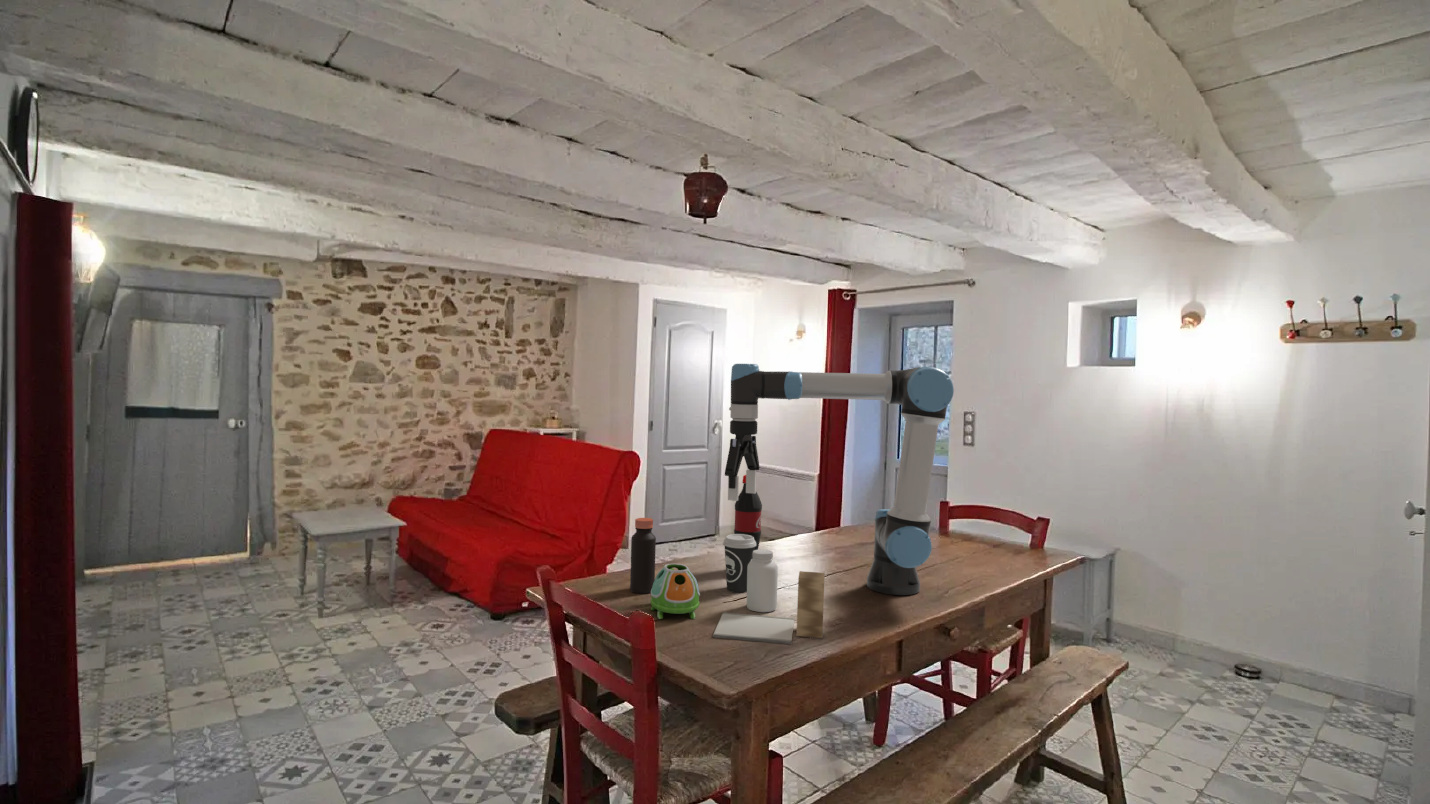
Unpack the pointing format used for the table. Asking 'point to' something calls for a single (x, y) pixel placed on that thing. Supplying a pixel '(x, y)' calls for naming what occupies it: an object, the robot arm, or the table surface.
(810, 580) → the oak block
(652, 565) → the vinegar
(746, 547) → the coffee cup
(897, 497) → the robot arm
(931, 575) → the table surface
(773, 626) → the shallow grey tray
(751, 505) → the cola bottle
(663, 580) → the turtle holder
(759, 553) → the pill bottle
